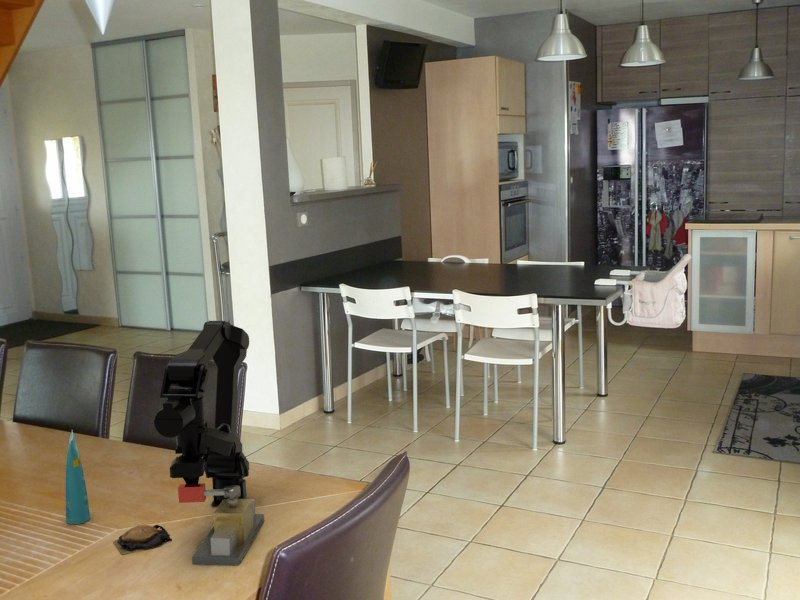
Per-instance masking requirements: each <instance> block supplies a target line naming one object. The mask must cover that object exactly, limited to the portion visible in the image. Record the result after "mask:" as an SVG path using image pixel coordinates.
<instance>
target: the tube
mask: <svg viewBox="0 0 800 600" xmlns="http://www.w3.org/2000/svg"><path fill="white" fill-rule="evenodd" d="M67 447H68V448H67V452H66V460H65V461H66V463H65V484H64V485H65V488H64V489H65V490H64V491H65V493H64V494H65V497H64V498H65V522H66V523H67V524H69V525H80V524H83V523H86V522H88V521H89V520H90V519H91V514H90V513H91V511H90V506H89V498H88V491H87V484H86V479H85V474H84V473H85V472H84V467H83V464H82V459H81V456H80V455H81V454H80V452H79V451H80V450H79V448H78V445H77V441H76V438H75V435H74V432H73V429H71V433H70V435H69V440H68V446H67Z"/></svg>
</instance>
